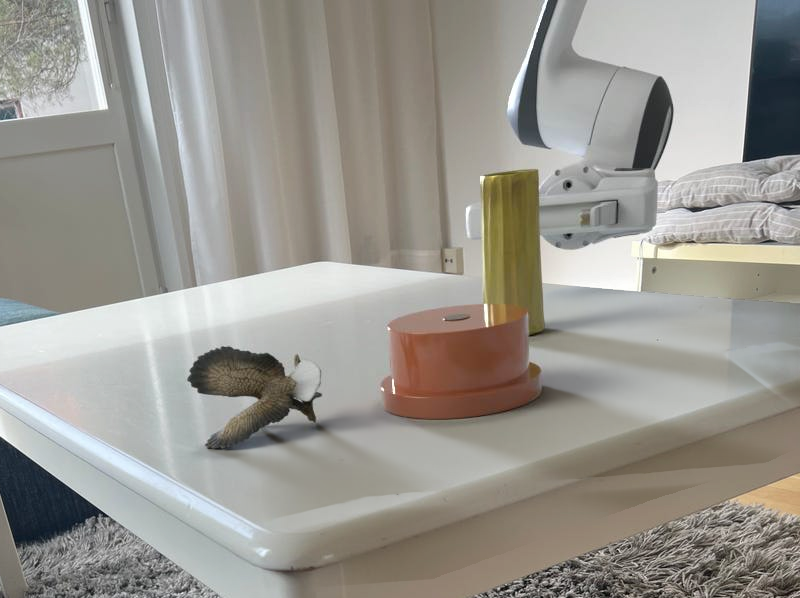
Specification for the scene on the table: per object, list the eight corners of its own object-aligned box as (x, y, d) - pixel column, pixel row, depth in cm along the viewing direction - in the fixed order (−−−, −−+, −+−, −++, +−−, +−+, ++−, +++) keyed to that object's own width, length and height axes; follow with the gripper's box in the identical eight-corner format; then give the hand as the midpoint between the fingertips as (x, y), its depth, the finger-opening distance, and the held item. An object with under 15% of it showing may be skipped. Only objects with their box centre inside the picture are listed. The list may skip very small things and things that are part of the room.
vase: (552, 333, 93) (551, 169, 86) (489, 341, 93) (483, 178, 86) (535, 322, 98) (533, 167, 92) (475, 331, 98) (469, 176, 92)
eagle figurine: (285, 394, 79) (179, 397, 75) (309, 322, 73) (196, 321, 70) (318, 462, 75) (208, 469, 71) (346, 391, 70) (229, 394, 66)
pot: (532, 370, 81) (531, 294, 78) (550, 409, 70) (549, 323, 67) (384, 385, 83) (377, 311, 80) (379, 425, 72) (371, 341, 69)
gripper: (486, 184, 113) (443, 198, 103) (669, 166, 104) (643, 179, 93) (488, 242, 116) (447, 261, 106) (667, 229, 107) (641, 249, 96)
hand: (541, 222), depth 99 cm, fingers open, 8 cm apart
